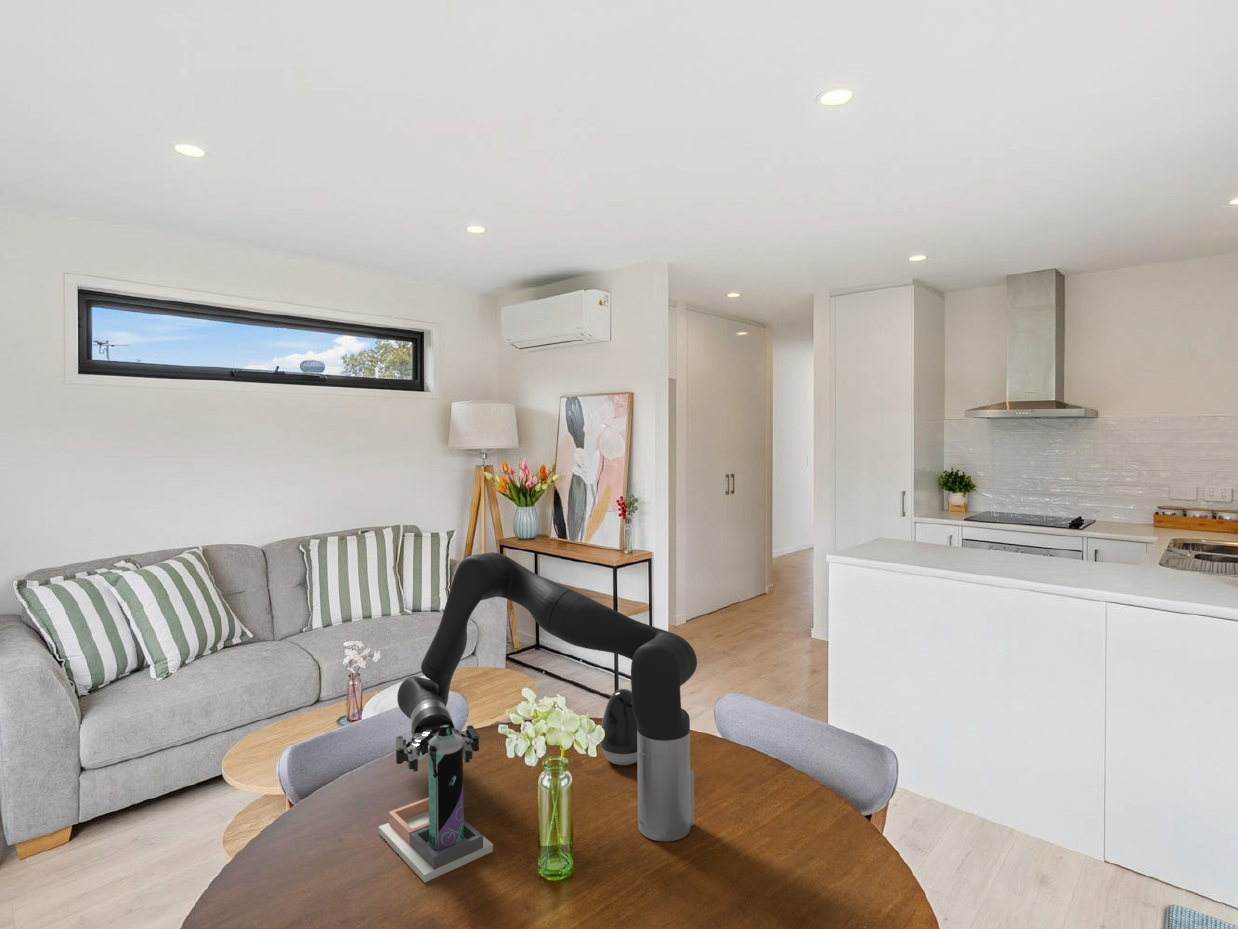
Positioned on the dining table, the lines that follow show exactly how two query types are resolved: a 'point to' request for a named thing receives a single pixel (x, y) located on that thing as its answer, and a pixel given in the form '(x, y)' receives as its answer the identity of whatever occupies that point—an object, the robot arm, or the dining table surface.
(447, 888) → the dining table surface
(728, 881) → the dining table surface
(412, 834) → the board
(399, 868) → the dining table surface
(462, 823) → the spray can
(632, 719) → the black egg shaped dome
